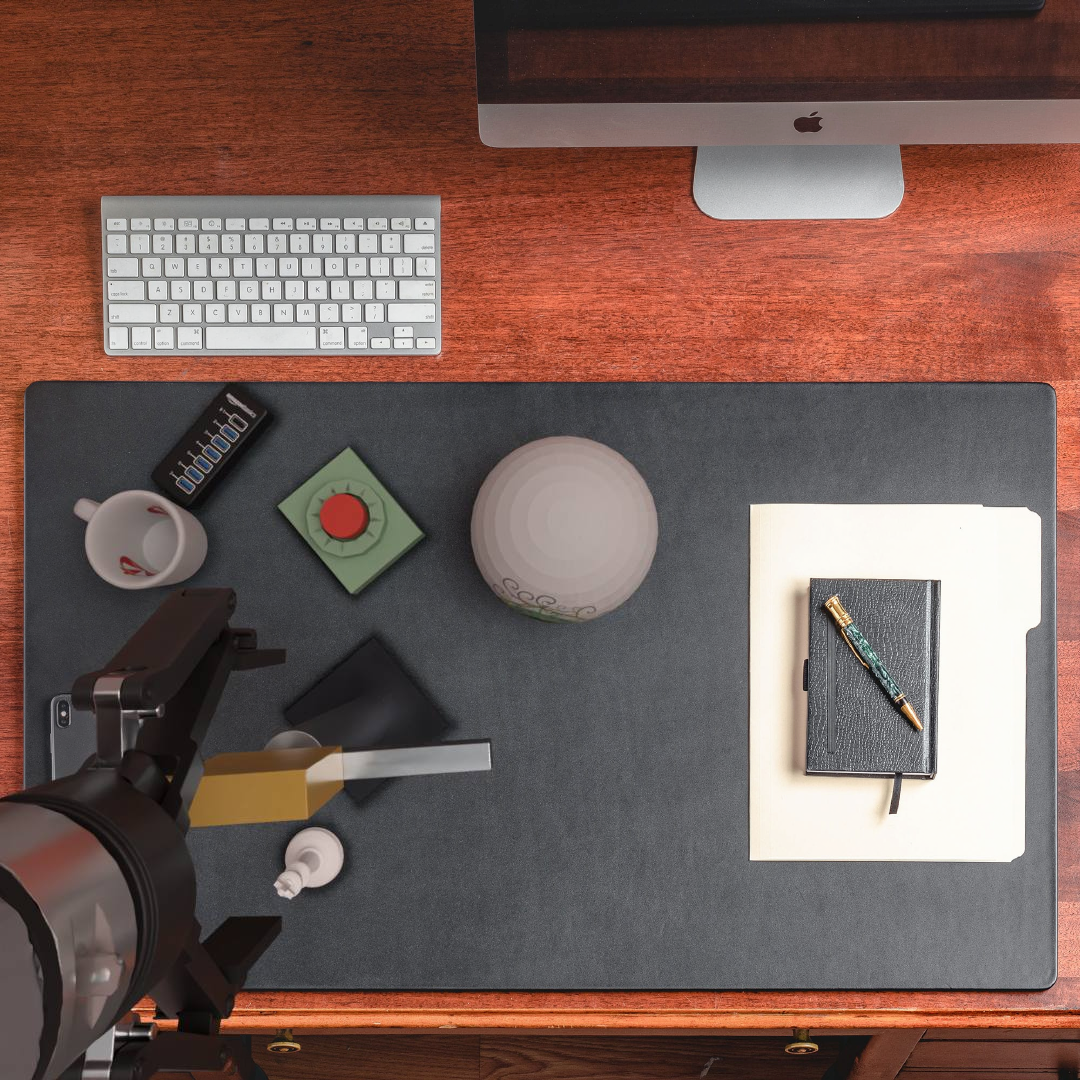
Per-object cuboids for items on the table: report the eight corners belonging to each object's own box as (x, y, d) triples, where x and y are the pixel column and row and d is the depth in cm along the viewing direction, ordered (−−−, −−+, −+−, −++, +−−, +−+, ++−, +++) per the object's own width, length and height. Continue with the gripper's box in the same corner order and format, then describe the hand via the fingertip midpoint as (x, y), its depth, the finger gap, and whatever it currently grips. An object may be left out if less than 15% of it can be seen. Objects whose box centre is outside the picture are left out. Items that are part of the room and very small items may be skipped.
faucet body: (288, 711, 77) (175, 755, 53) (376, 636, 77) (304, 645, 54) (361, 800, 76) (280, 885, 52) (449, 724, 77) (410, 773, 53)
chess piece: (311, 815, 76) (277, 844, 66) (355, 852, 76) (327, 887, 66) (274, 860, 76) (234, 897, 66) (318, 898, 76) (284, 940, 66)
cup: (85, 550, 78) (33, 543, 70) (130, 472, 79) (84, 455, 71) (191, 607, 78) (151, 607, 70) (236, 528, 78) (201, 518, 70)
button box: (284, 509, 78) (270, 503, 74) (353, 451, 79) (344, 442, 75) (356, 594, 78) (346, 593, 74) (425, 535, 78) (419, 531, 74)
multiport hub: (159, 480, 79) (147, 476, 76) (239, 386, 79) (230, 379, 77) (197, 511, 78) (186, 508, 76) (277, 416, 79) (269, 410, 77)
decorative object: (448, 579, 78) (427, 570, 63) (520, 427, 79) (516, 383, 64) (603, 651, 77) (618, 659, 62) (673, 497, 79) (705, 469, 64)
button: (316, 515, 75) (311, 513, 73) (349, 488, 75) (344, 485, 73) (343, 547, 75) (338, 546, 73) (376, 520, 75) (372, 517, 73)
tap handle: (234, 789, 53) (162, 829, 43) (232, 748, 53) (161, 779, 43) (493, 771, 53) (483, 807, 43) (491, 730, 53) (480, 757, 43)
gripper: (136, 1415, 24) (327, 1038, 45) (161, 491, 26) (332, 548, 47) (-144, 1418, 24) (179, 1040, 45) (-96, 493, 26) (191, 549, 47)
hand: (258, 788), depth 46 cm, fingers open, 13 cm apart
